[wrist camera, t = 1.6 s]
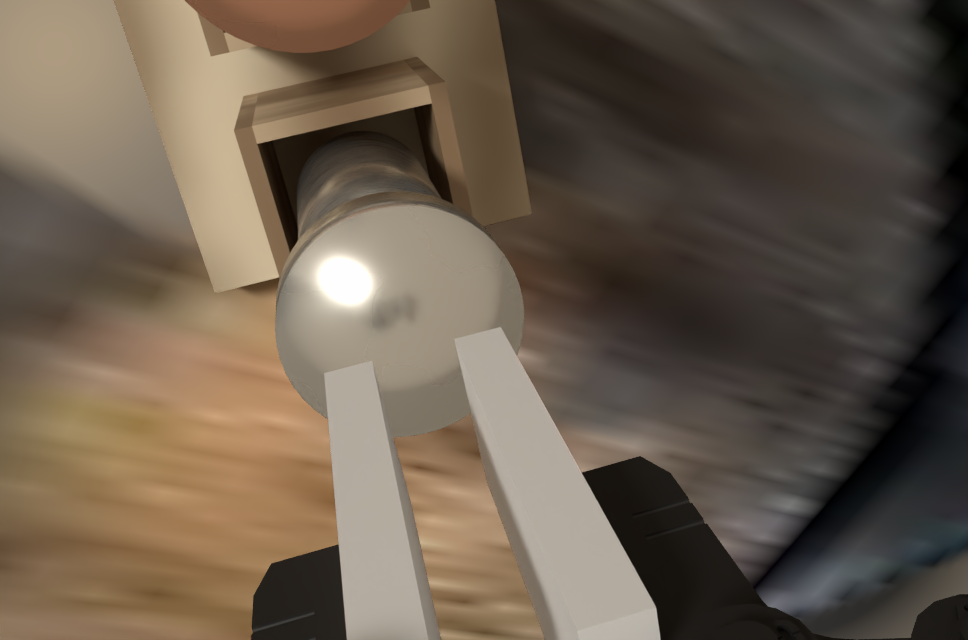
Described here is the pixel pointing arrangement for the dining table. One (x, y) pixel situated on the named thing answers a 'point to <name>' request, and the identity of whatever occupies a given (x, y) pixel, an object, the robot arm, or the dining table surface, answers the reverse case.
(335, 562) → the robot arm
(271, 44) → the terracotta plunger
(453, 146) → the beige boxy slotted piece
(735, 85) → the dining table surface
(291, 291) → the cream plunger
